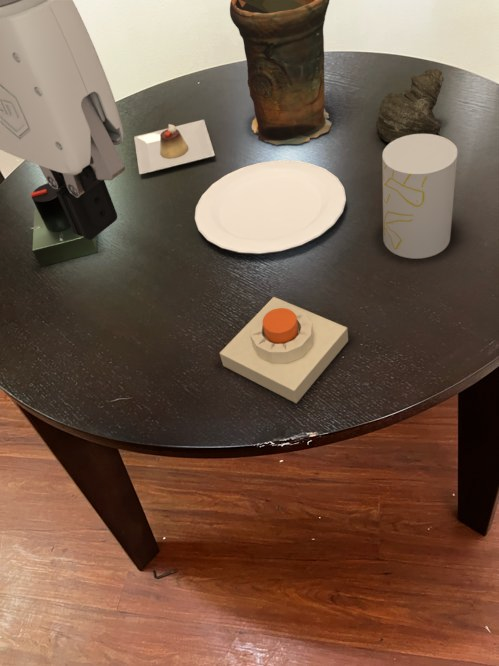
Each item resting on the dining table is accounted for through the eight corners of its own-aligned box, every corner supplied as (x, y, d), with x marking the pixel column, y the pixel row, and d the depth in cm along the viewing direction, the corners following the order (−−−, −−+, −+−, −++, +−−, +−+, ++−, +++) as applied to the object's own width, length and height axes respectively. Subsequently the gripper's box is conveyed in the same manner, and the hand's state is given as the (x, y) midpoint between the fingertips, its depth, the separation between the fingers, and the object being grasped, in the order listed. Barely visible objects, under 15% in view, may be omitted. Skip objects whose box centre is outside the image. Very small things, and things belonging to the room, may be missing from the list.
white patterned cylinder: (370, 232, 83) (368, 150, 75) (424, 209, 85) (428, 126, 76) (407, 267, 78) (409, 183, 69) (464, 241, 79) (473, 156, 71)
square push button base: (296, 403, 67) (292, 379, 64) (222, 365, 72) (215, 341, 69) (348, 341, 71) (346, 315, 68) (276, 309, 76) (271, 284, 73)
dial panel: (99, 251, 90) (91, 233, 87) (38, 267, 89) (29, 250, 87) (96, 211, 96) (89, 193, 94) (40, 225, 96) (31, 208, 94)
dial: (75, 208, 92) (61, 176, 89) (77, 225, 89) (63, 194, 86) (45, 217, 92) (30, 185, 88) (46, 234, 89) (30, 203, 85)
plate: (232, 163, 100) (230, 153, 98) (365, 175, 92) (364, 165, 91) (171, 249, 87) (168, 240, 86) (318, 272, 80) (316, 262, 78)
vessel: (340, 96, 108) (332, -33, 94) (335, 143, 99) (325, 7, 84) (256, 103, 111) (235, -21, 97) (243, 149, 102) (219, 18, 87)
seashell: (466, 110, 88) (463, 74, 94) (392, 71, 85) (393, 36, 92) (418, 171, 96) (417, 134, 103) (348, 137, 94) (352, 101, 100)
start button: (285, 348, 67) (283, 337, 66) (258, 336, 69) (255, 324, 68) (305, 326, 69) (303, 315, 68) (278, 314, 71) (275, 303, 69)
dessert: (141, 180, 100) (132, 153, 97) (135, 142, 109) (127, 116, 105) (216, 161, 101) (210, 134, 97) (205, 125, 109) (199, 98, 106)
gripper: (-130, -16, 39) (2, 227, 52) (18, 11, 31) (129, 288, 44) (-29, -61, 42) (71, 178, 56) (127, -46, 35) (200, 226, 48)
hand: (96, 226), depth 50 cm, fingers closed
